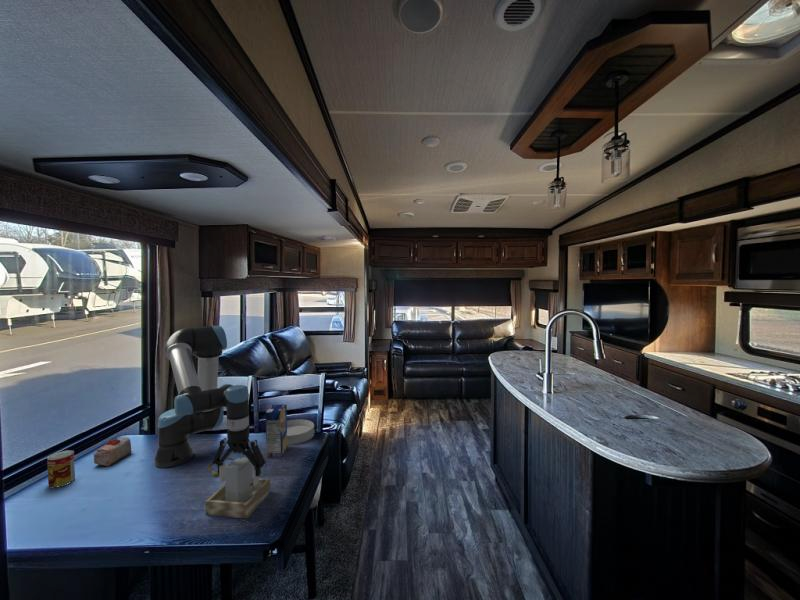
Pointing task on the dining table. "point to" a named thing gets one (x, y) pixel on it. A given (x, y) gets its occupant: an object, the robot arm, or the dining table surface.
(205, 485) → the dining table surface
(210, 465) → the extension cord
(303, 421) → the dish
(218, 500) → the birch box
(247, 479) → the skincare box
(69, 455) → the canned food
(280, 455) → the beverage box
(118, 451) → the food item
